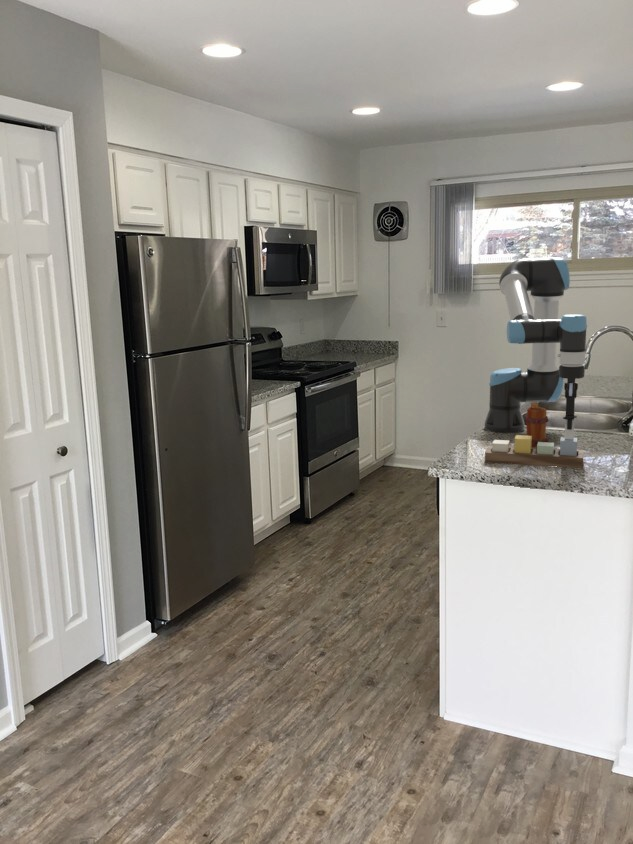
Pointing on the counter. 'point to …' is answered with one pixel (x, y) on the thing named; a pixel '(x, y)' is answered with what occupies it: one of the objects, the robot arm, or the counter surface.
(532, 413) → the orange bottle
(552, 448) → the key sage
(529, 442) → the key mustard
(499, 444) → the key cream
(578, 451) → the keypad board
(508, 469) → the counter surface
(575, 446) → the key slate
